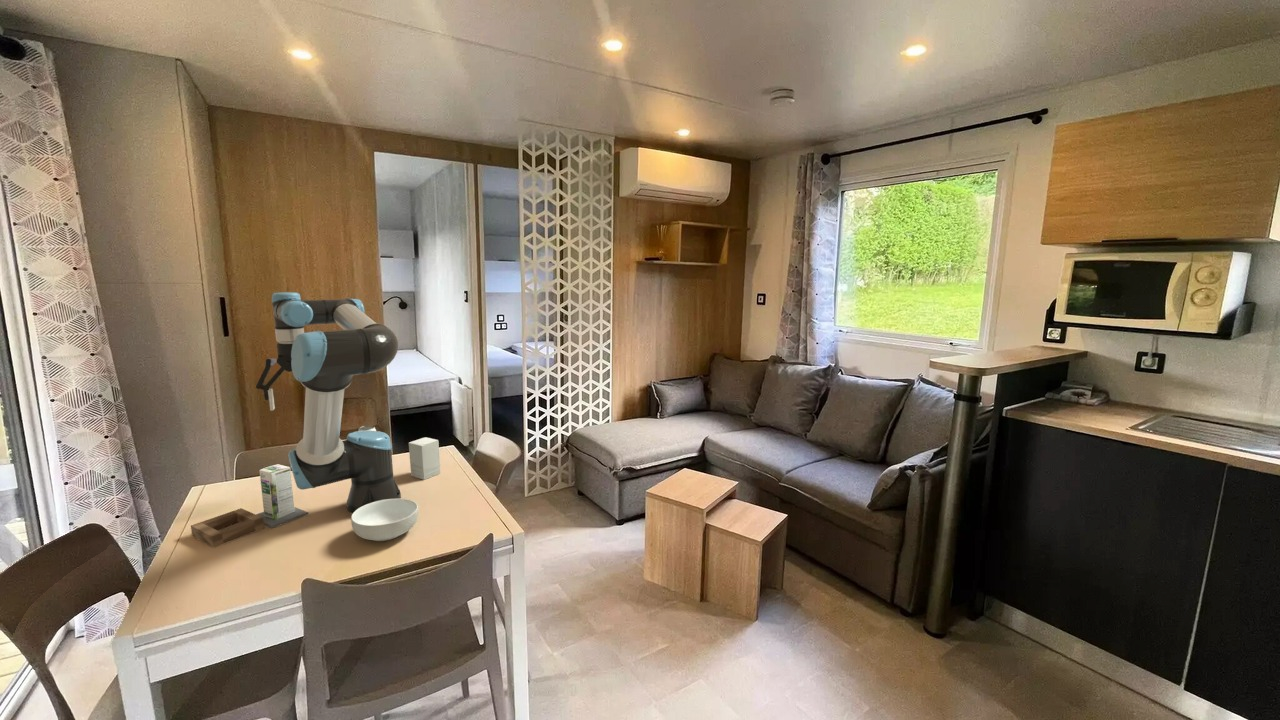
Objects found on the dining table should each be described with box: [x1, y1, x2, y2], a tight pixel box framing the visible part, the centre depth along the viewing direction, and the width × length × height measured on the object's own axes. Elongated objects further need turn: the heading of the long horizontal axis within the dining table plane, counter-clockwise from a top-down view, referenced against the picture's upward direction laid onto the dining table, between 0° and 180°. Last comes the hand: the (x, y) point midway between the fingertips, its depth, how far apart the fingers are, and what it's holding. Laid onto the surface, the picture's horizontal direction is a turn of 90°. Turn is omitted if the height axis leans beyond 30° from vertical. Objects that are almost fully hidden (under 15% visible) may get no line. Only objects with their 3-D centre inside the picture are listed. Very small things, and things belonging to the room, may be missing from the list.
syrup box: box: [259, 463, 295, 520], centre depth 152 cm, size 6×6×14 cm
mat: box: [255, 506, 309, 529], centre depth 153 cm, size 12×10×1 cm
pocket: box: [190, 508, 265, 549], centre depth 143 cm, size 12×12×3 cm
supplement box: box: [408, 437, 441, 480], centre depth 184 cm, size 7×7×13 cm
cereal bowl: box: [350, 498, 419, 542], centre depth 143 cm, size 17×17×7 cm
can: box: [358, 425, 377, 431], centre depth 201 cm, size 6×6×12 cm
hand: (298, 407), depth 165 cm, fingers open, 13 cm apart
